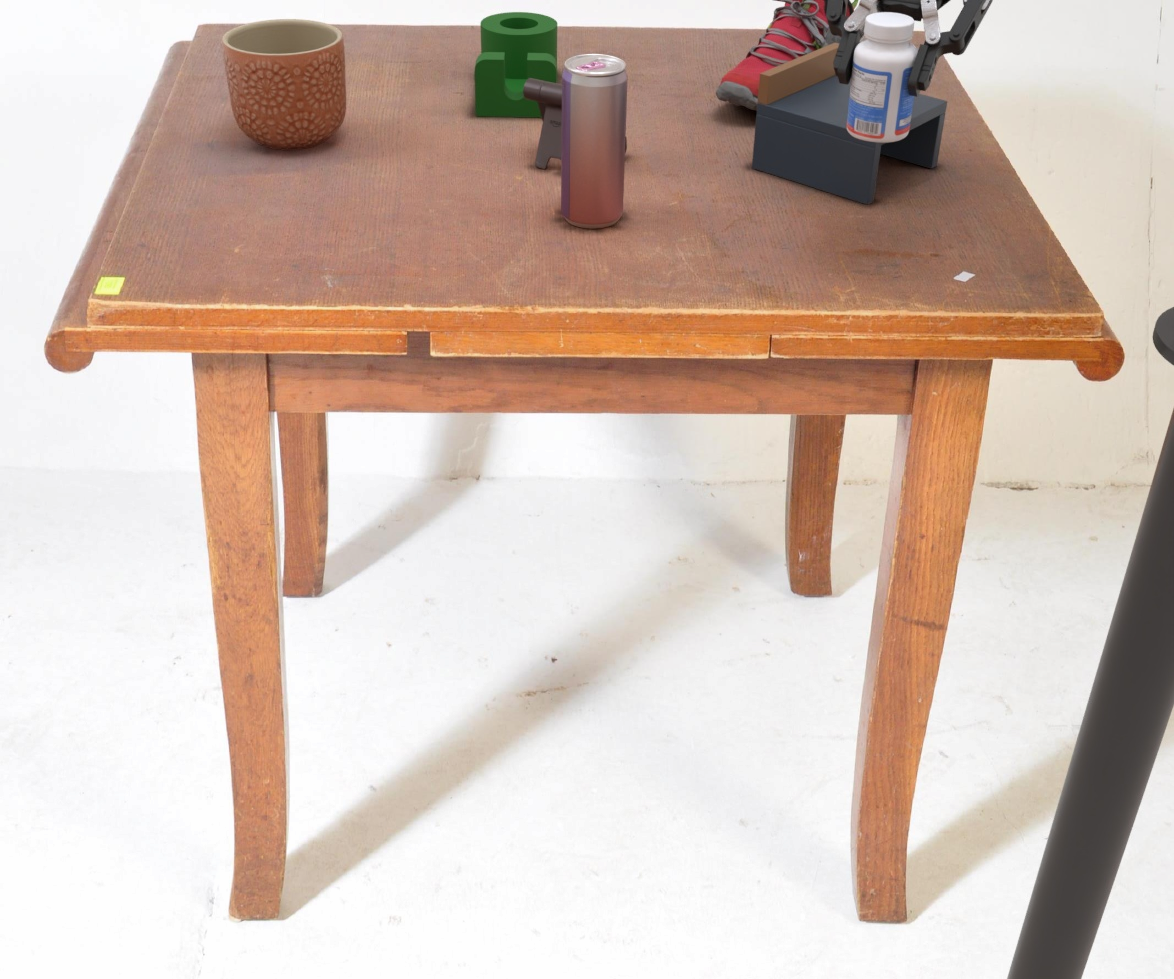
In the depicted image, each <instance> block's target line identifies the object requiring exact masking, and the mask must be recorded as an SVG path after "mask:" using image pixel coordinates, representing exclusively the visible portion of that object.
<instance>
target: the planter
mask: <svg viewBox="0 0 1174 979" xmlns="http://www.w3.org/2000/svg"><path fill="white" fill-rule="evenodd" d="M221 50H222V58H223V64H224V70H225V76H226V82H227V88H228V95H229V100H230V106H231V110H232V115H233V117H234V120H235V122H236V124H237V126H238V128H239V129H240V130H241V131H242V133H243V134H244V135H245V136H246V137H248V138H249V139H250V140H252V141H253V142H255V143H256V144H258V145H261V146H263V147H266V148H269V149H274V150H284V151H285V150H286V151H292V150H303V149H308V148H309V149H310V148H313V147H316V146H319V145H321V144H323V143H325V142H326V141H328V140H329V139H331V138H332V137H333V136H334V135H335V134H336V133H337V132H338V131H339V130H340V128H341V127H342V125H343V123H344V121H345V117H346V114H347V87H346V86H347V85H346V84H347V83H346V80H347V79H346V54H345V52H346V51H345V40H344V36H343V33H342V31H341V30H340V29H339V28H337V27H336V26H334V25H332V24H329V23H326V22H322V21H316V20H310V19H300V18H279V19H278V18H277V19H267V20H260V21H259V20H258V21H253V22H247V23H246V24H245V23H244V24H241V25H239V26H236V27H233V28H231V29H230V30H227V32H225V33H224V34H223V36H222V38H221Z"/></svg>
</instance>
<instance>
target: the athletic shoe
mask: <svg viewBox="0 0 1174 979" xmlns="http://www.w3.org/2000/svg"><path fill="white" fill-rule="evenodd" d="M773 1H775V2H781V3H784V5H783V6H779V7H776V8H775V9H774V10H773V17H772V21H771V22H770V23H769V24H768V26H767V28H766V31H765V33H764V34H762V35H761V36H760V37H759V39H758V44H757V45H754V46H751V47H750V48H749V50H748V52H747V54H746V55H745V58H744V59H743V60H741V61H740V62H739V63H738V64H737V65H736V66H735V67H734V68H732V69H731V70H729V71H728V72H727V73H726V74H725V75H724V76H723V77H721V79H720V80H721V81H720V84H719V86H717V88H716V90H715V96H716V98H717V100H719V101H721V102H728V103H729V104H732V105H735V106H743V107H745V108H747V109H749V110H751V111H756V112H757V103H758V102H757V101H758V90H759V79H760V73H762V72H765V71H767V70H770V69H772V68H775V67H777V66H779V65H782V64H784V63H787V62H789V61H792V60H794V59H796V58H799V57H801V56H804V55H806V54H809V53H811V52H813V51H816V50H818V49H821V48H823V47H826V46H828V45H830V44H833V43H840V40H841V37H840V36H834V35H832V34H831V32H830V29H829V25H828V21H827V18H826V12H827V4H828V0H773ZM858 4H859V0H853V2H851V0H848V3H847V11H846V17H848V18H849V17H850V16H851V14H852V13H853V12H854V11H855V10H856V8H857V7H858V6H857V5H858Z"/></svg>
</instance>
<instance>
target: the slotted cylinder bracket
mask: <svg viewBox="0 0 1174 979" xmlns="http://www.w3.org/2000/svg"><path fill="white" fill-rule="evenodd" d="M529 78H533V79H538V80H542V81H547V82H552V83H557V84H558V21H557V20H556V19H554V18H553V17H551V16H549V15H546V14H541V13H535V12H525V11H507V12H501V13H496V14H491V15H488V16H486V17H483V19H481V21H480V54H479V55H477V57H476V60H475V64H474V102H475V103H474V104H475V117H483V118H485V117H487V118H488V117H489V118H492V117H493V118H542V117H541V113H540V109H539V106H538V102H537V101H532V100H527V99H525V97H524V94H523V88H524V84H525V82H526V81H527V79H529Z"/></svg>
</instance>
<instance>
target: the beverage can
mask: <svg viewBox="0 0 1174 979" xmlns="http://www.w3.org/2000/svg"><path fill="white" fill-rule="evenodd" d="M563 64H564V65H563V67H564V68H563V71H562V74H561V85H562V143H561V161H560V162H561V164H560V212H561V215H562V216H563V218H564V220H565V222H567V223H568V224H569V225H572V226H575V227H578V228H583V229H592V230H593V229H604V228H607V227H611V226H613V225H615V224H616V223H618V221H619V220H620V219H621V217H622V216H623V214H624V193H625V163H626V153H625V139H626V138H627V135H626V134H627V110H628V109H627V106H628V105H627V104H628V103H627V102H628V80H629V79H628V78H629V76H628V73H627V69H626V68H627V63H626V62H625V60H624V59H622V58H620V57H617V56H615V55H611V54H610V55H609V54H605V53H603V54H602V53H583V54H577V55H573V56H571V57H569V58H567V59H565V61H564V63H563Z"/></svg>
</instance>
